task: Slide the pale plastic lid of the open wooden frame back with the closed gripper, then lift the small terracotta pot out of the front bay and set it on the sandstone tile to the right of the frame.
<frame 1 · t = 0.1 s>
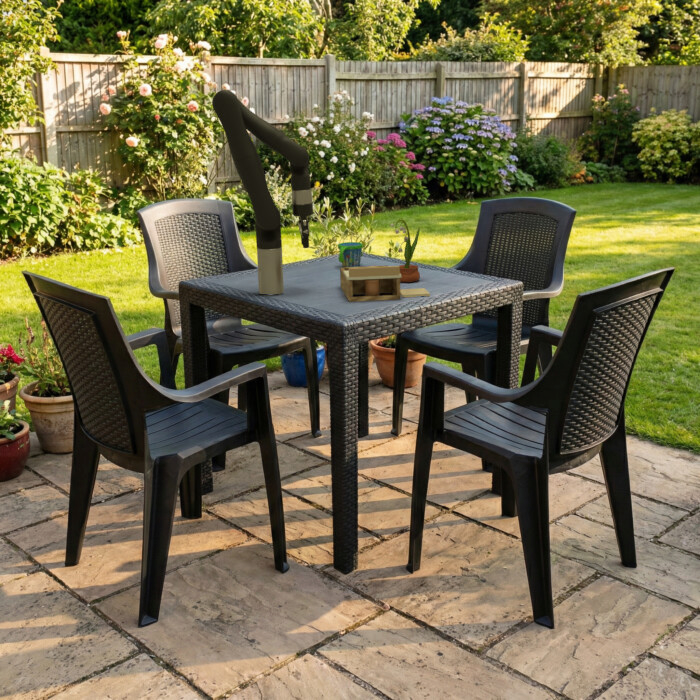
hand: (305, 246, 325), 17 cm above the table, tool pointing down, fingers open, 8 cm apart
clay pot: (372, 287, 317), in the open wooden frame
potted flower: (405, 281, 345), on the table
stone tile: (413, 294, 321), on the table
lid: (371, 270, 315), point 10 cm above the table, slide at 0.0 cm
snack cup: (351, 267, 378), on the table
open wooden frame: (372, 296, 318), on the table
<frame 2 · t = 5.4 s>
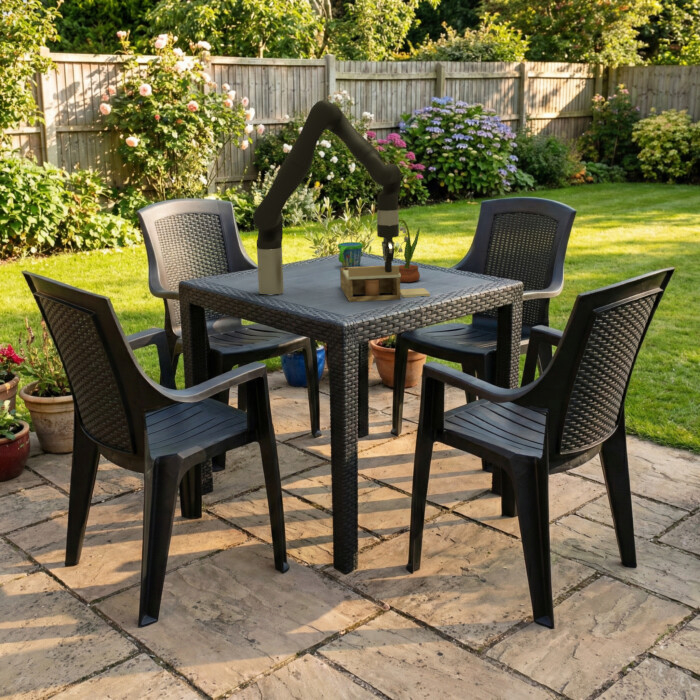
hand: (388, 272, 309), 10 cm above the table, tool pointing down, fingers closed
lid: (371, 269, 316), point 10 cm above the table, slide at 1.1 cm, touching gripper
everything else where it was.
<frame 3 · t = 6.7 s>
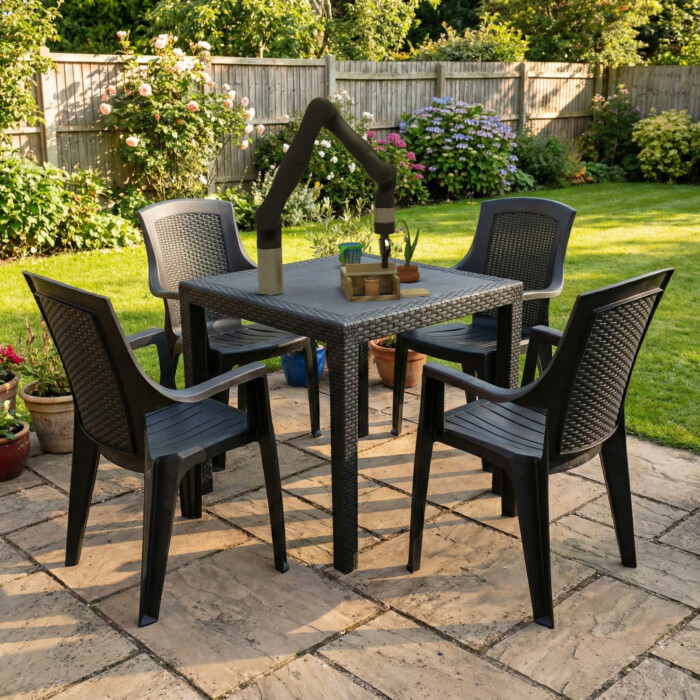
hand: (384, 268, 316), 10 cm above the table, tool pointing down, fingers closed
lid: (368, 266, 324), point 10 cm above the table, slide at 8.6 cm, touching gripper
everything else where it was.
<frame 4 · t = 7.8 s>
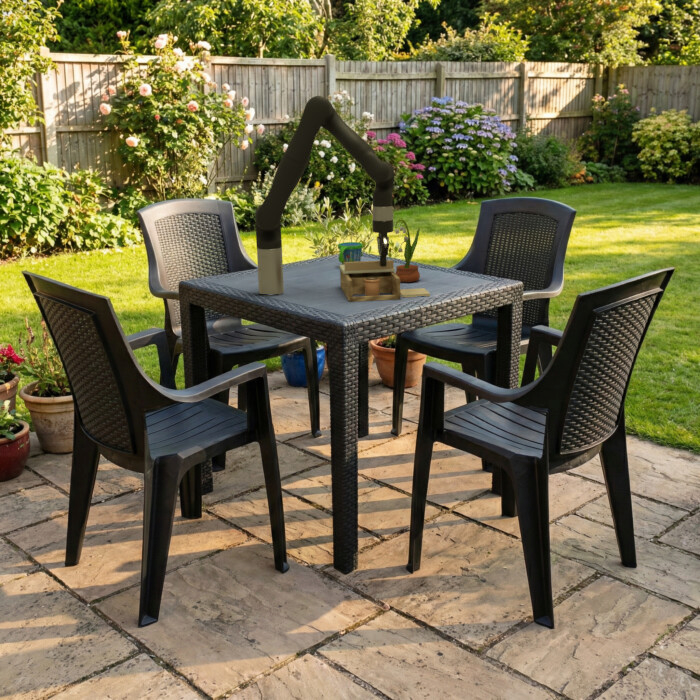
hand: (383, 266, 320), 10 cm above the table, tool pointing down, fingers closed
lid: (366, 264, 328), point 10 cm above the table, slide at 12.7 cm, touching gripper
everything else where it was.
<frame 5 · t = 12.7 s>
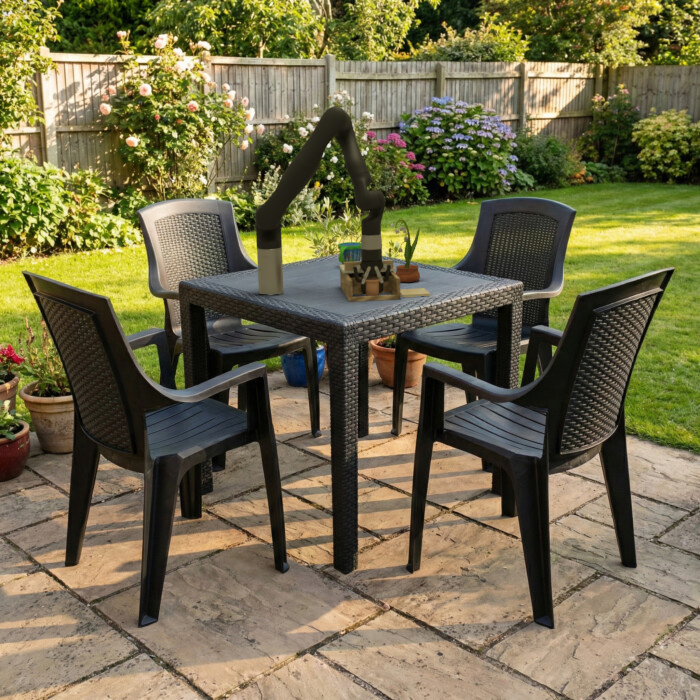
hand: (372, 293, 318), 1 cm above the table, tool pointing down, fingers closed on clay pot, 5 cm apart
clay pot: (372, 287, 317), in the open wooden frame, touching gripper
lid: (366, 264, 328), point 10 cm above the table, slide at 13.1 cm
everything else where it was.
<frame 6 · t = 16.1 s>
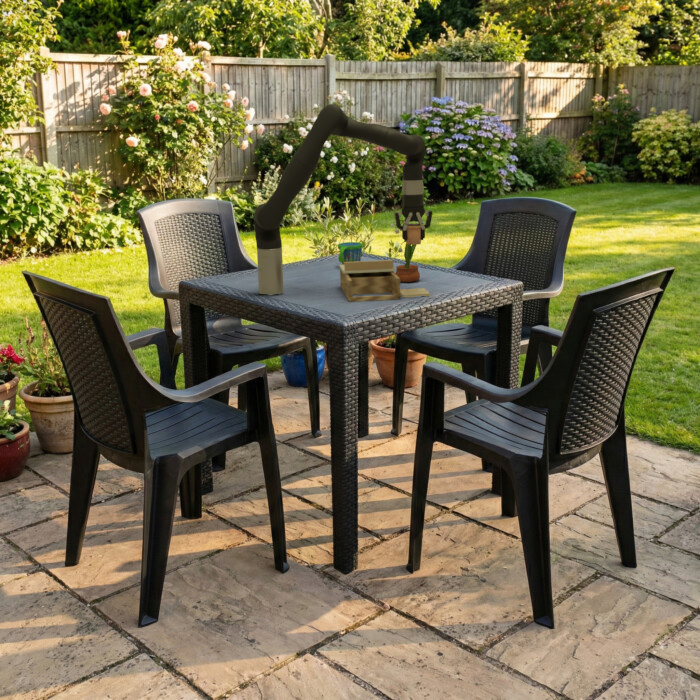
hand: (413, 240, 316), 20 cm above the table, tool pointing down, fingers closed on clay pot, 5 cm apart
clay pot: (413, 233, 315), point 22 cm above the table, touching gripper
everything else where it was.
when the fingers open (4 cm above the table, at t = 19.7 s): clay pot drops 1 cm, resting on stone tile.
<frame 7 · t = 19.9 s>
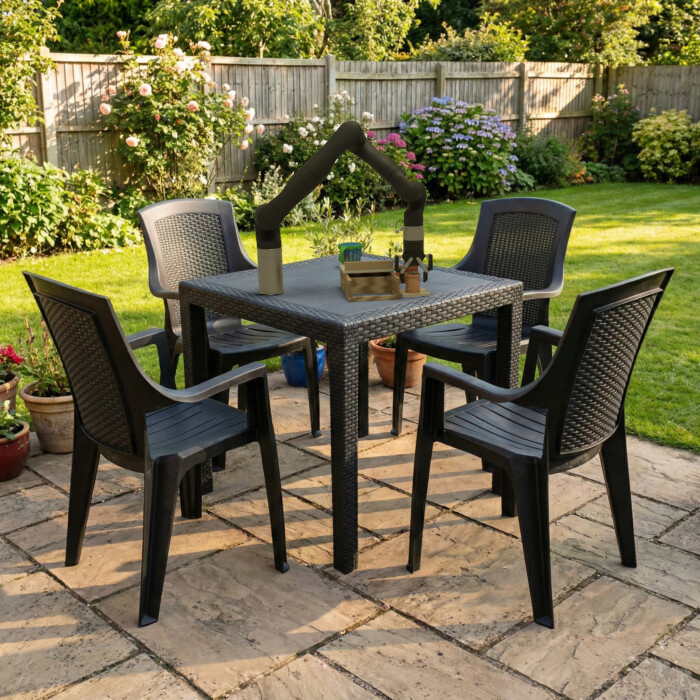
hand: (413, 282, 320), 4 cm above the table, tool pointing down, fingers open, 7 cm apart
clay pot: (412, 282, 319), on the stone tile, point 4 cm above the table
everything else where it was.
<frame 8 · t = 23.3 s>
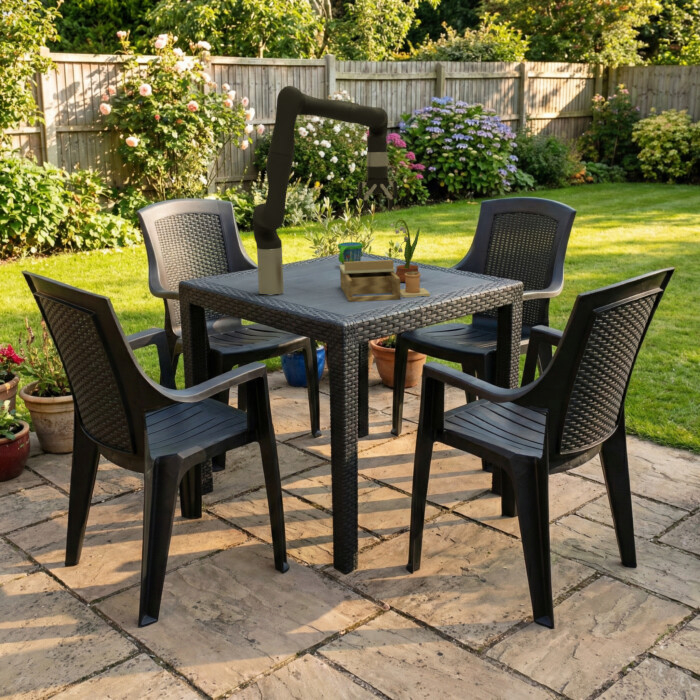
hand: (377, 210, 320), 30 cm above the table, tool pointing down, fingers open, 8 cm apart
nothing on the table moved.
at the end: clay pot inside the target area on the stone tile (0.4 cm from its centre), point 4.5 cm above the stone tile's base; clay pot tilted 0°; lid slide at 13.1 cm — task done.
